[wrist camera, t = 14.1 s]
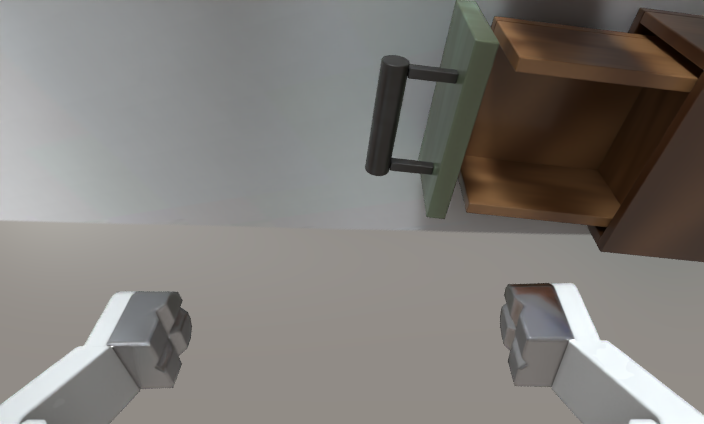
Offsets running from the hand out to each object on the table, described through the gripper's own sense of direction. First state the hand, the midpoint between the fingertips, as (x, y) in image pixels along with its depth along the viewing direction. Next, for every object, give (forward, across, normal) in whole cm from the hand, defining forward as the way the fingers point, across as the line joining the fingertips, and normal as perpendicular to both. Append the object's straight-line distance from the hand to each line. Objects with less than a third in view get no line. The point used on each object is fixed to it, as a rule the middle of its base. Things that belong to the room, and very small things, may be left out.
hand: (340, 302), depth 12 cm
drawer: (+22, -9, +5) cm, 24 cm away
